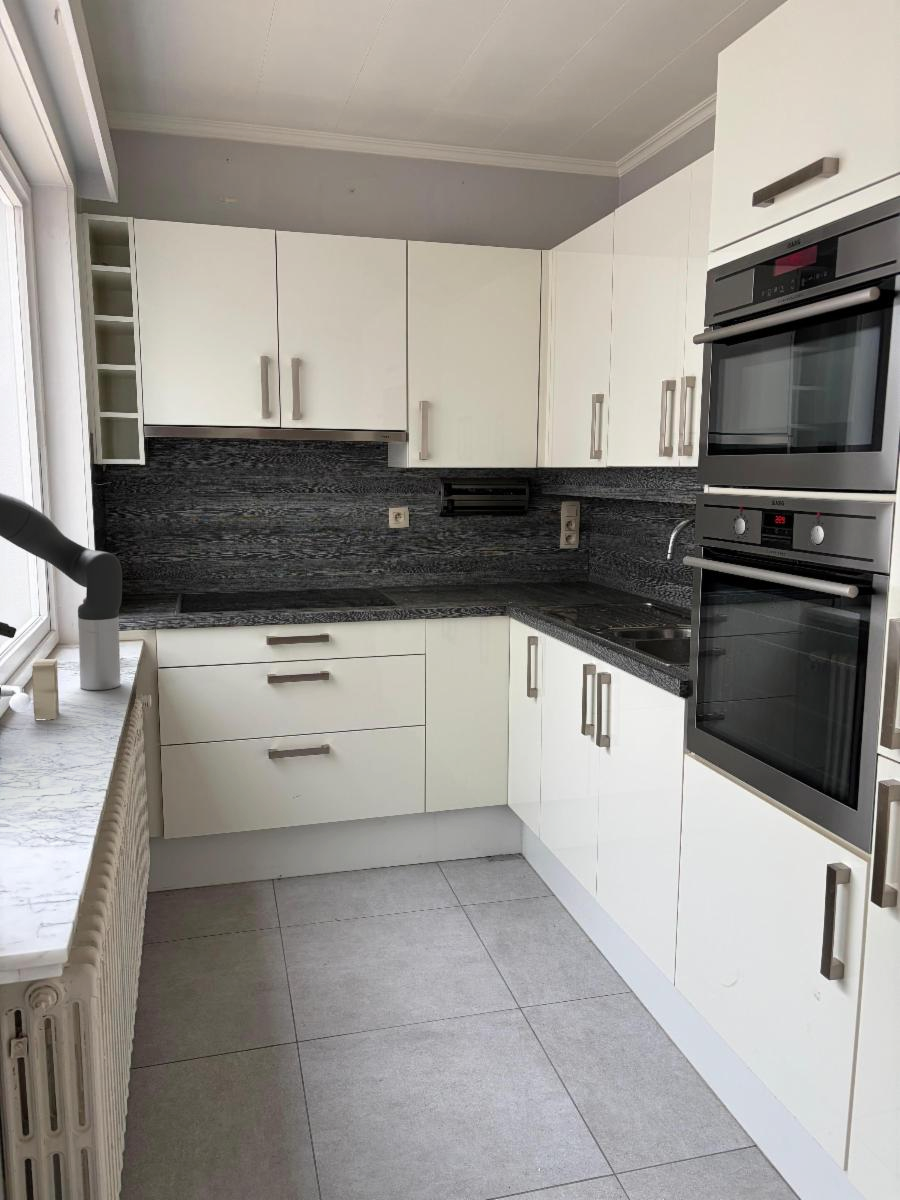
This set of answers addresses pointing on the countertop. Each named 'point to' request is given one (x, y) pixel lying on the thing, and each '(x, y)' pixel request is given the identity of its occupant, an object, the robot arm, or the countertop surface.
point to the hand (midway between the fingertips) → (11, 631)
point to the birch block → (45, 689)
